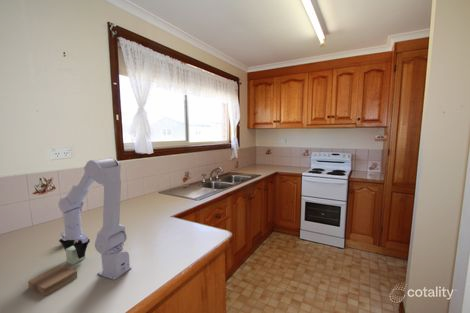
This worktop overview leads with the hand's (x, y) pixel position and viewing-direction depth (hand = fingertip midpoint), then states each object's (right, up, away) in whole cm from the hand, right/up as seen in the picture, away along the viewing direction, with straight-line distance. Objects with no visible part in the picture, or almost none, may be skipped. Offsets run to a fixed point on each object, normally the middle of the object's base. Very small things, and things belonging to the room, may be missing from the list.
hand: (75, 255), depth 92 cm
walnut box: (+2, -4, -13) cm, 14 cm away
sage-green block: (0, -2, 0) cm, 2 cm away
